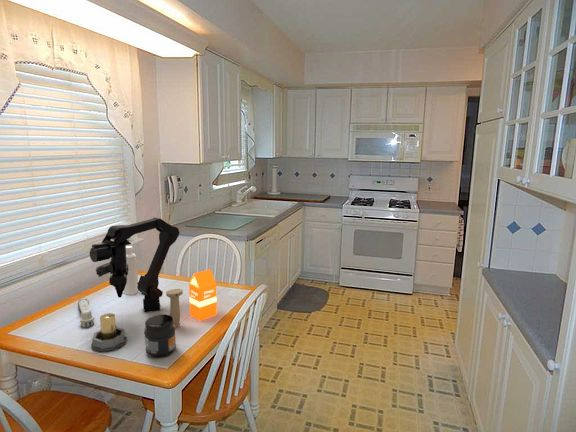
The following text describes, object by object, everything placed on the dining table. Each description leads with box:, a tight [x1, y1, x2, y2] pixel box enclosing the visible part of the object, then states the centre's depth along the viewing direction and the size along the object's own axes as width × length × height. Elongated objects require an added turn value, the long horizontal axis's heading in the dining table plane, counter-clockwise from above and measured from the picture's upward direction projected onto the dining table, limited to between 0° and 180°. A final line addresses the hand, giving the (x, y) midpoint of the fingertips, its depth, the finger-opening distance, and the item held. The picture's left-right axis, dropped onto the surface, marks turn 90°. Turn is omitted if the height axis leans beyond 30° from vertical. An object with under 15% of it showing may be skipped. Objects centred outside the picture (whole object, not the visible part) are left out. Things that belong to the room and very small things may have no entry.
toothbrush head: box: [77, 297, 95, 328], centre depth 161 cm, size 5×7×25 cm
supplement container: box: [143, 313, 177, 359], centre depth 134 cm, size 10×10×12 cm
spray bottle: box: [123, 245, 139, 296], centre depth 185 cm, size 7×7×25 cm
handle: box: [165, 288, 184, 328], centre depth 153 cm, size 5×6×15 cm
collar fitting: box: [90, 326, 128, 353], centre depth 139 cm, size 12×12×4 cm
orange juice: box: [188, 269, 218, 322], centre depth 163 cm, size 8×9×20 cm
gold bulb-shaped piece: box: [99, 312, 117, 340], centre depth 139 cm, size 6×6×10 cm
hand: (120, 293), depth 156 cm, fingers open, 9 cm apart
